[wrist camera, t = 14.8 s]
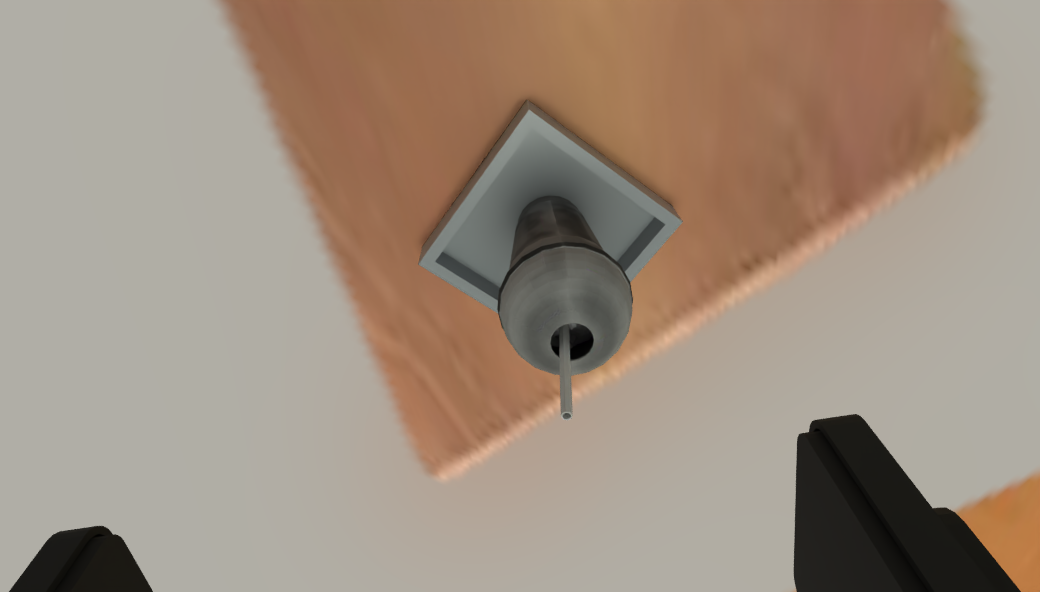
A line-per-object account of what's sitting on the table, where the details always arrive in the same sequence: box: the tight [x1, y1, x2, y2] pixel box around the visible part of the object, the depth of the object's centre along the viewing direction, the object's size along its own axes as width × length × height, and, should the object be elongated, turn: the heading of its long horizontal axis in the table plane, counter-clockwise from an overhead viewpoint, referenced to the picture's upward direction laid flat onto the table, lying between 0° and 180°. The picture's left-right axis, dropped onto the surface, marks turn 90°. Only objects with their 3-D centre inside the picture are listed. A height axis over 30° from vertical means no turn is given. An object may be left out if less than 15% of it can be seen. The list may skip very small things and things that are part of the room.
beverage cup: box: [497, 196, 633, 420], centre depth 39 cm, size 7×7×20 cm
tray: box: [418, 100, 683, 313], centre depth 47 cm, size 12×12×3 cm
